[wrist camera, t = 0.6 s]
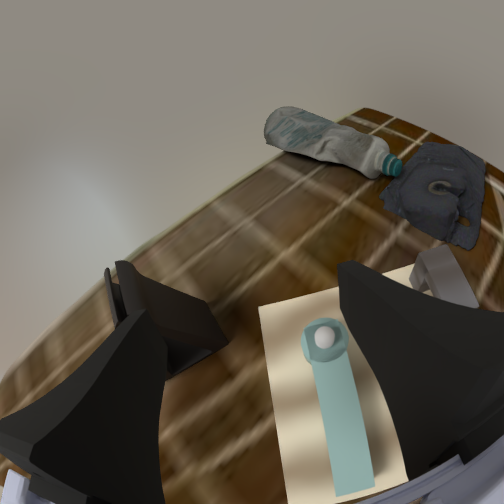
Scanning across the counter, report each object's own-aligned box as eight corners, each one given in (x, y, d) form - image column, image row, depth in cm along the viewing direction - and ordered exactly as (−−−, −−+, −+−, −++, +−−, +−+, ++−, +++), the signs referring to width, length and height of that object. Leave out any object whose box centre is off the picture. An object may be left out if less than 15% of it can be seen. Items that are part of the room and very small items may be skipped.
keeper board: (503, 423, 12) (534, 416, 8) (291, 508, 15) (281, 526, 11) (442, 258, 26) (456, 226, 21) (260, 311, 28) (246, 285, 24)
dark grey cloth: (492, 176, 31) (499, 155, 27) (467, 263, 25) (481, 237, 21) (422, 142, 40) (424, 120, 36) (369, 207, 34) (371, 179, 30)
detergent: (255, 150, 48) (367, 212, 32) (248, 116, 42) (371, 164, 27) (307, 128, 51) (414, 175, 35) (303, 96, 46) (420, 134, 30)
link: (299, 333, 24) (295, 319, 22) (340, 322, 24) (342, 307, 21) (328, 491, 14) (329, 501, 12) (376, 479, 14) (384, 486, 11)
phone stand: (206, 302, 31) (152, 235, 22) (229, 344, 27) (173, 286, 18) (144, 340, 29) (75, 290, 20) (160, 383, 26) (81, 345, 16)
